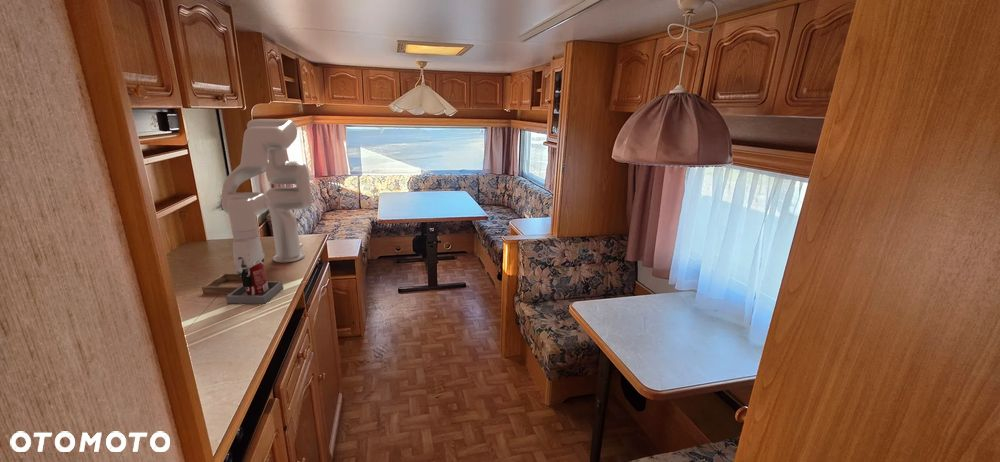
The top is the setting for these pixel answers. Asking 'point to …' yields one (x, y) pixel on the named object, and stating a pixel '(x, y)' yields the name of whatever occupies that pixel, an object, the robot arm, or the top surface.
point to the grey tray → (243, 298)
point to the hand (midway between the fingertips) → (254, 281)
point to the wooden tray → (212, 286)
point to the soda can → (257, 280)
